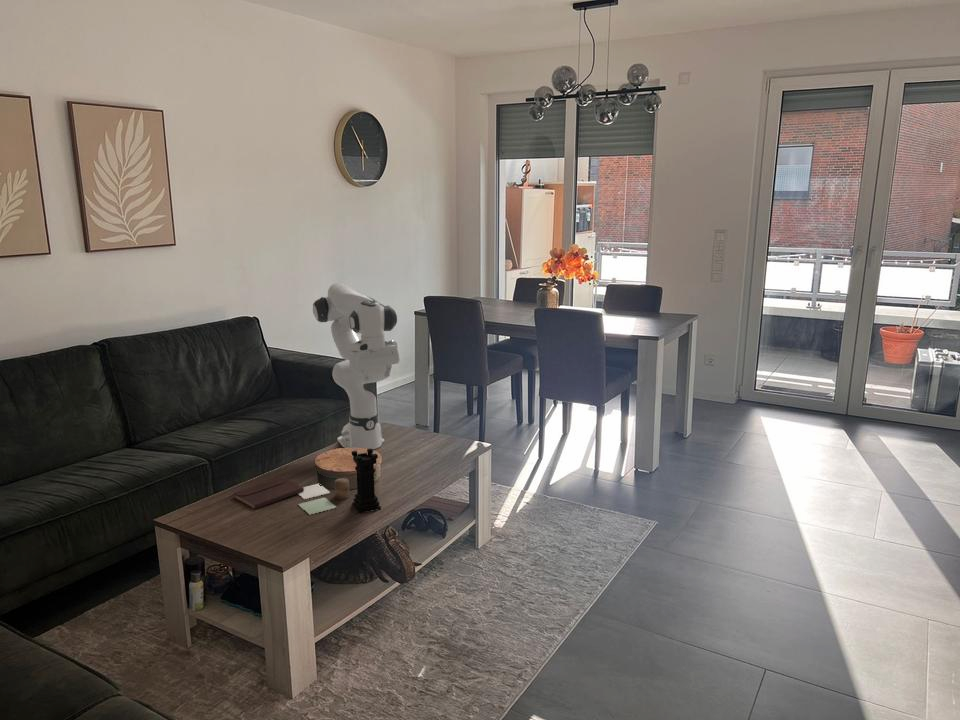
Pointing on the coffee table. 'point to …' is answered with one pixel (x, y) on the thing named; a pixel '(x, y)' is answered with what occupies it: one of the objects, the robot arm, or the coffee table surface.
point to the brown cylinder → (342, 488)
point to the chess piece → (365, 482)
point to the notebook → (268, 492)
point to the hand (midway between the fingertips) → (376, 378)
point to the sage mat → (317, 506)
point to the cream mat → (313, 491)
